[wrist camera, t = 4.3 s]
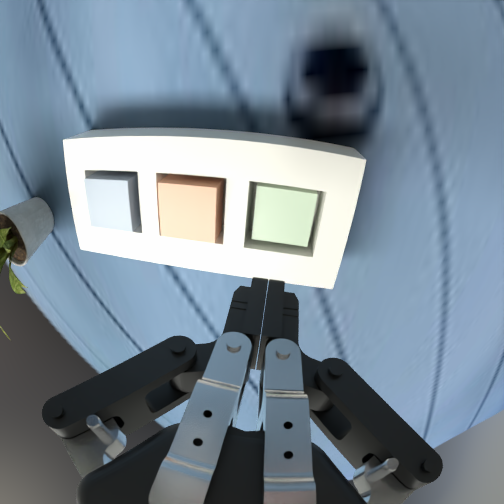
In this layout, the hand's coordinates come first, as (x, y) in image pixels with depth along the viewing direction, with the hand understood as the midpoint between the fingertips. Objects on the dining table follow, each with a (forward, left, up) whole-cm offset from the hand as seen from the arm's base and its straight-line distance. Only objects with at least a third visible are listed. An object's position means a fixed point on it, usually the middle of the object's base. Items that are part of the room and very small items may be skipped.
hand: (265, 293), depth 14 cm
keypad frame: (-6, 0, -13) cm, 14 cm away
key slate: (-13, 0, -10) cm, 17 cm away
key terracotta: (-6, 0, -10) cm, 12 cm away
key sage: (+1, 0, -12) cm, 12 cm away
